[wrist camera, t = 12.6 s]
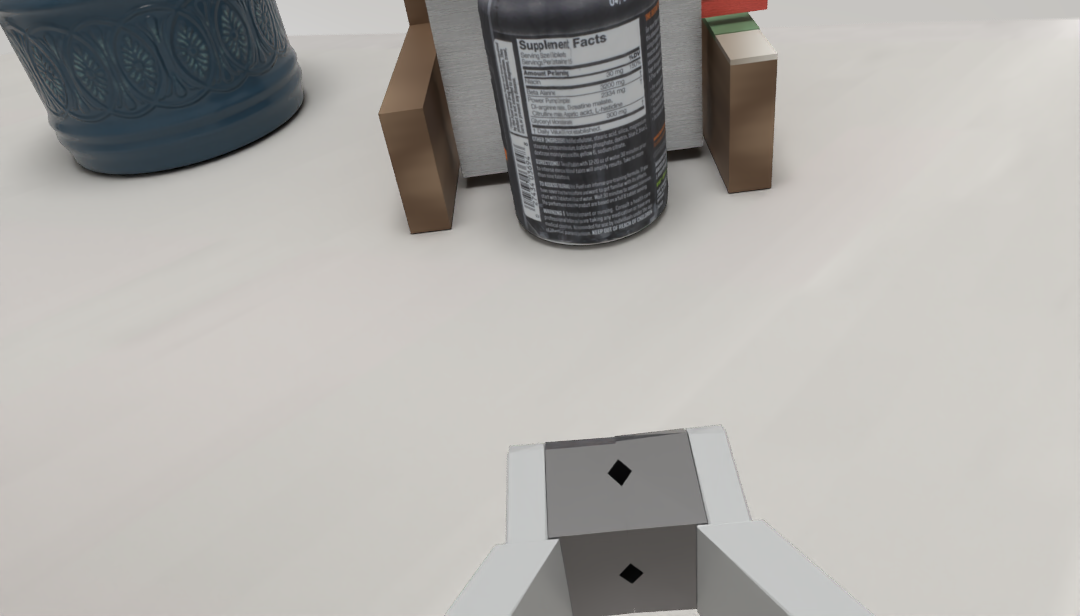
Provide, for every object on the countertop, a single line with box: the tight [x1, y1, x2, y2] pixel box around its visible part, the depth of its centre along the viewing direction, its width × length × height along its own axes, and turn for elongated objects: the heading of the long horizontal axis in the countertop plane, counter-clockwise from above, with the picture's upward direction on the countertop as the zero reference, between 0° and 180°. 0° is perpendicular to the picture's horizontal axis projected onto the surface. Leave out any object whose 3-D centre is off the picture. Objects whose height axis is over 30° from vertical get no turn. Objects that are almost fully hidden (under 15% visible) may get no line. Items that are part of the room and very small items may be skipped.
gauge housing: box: [378, 0, 778, 234], centre depth 33 cm, size 14×14×10 cm
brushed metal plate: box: [425, 0, 767, 178], centre depth 31 cm, size 12×1×8 cm, turn 91°
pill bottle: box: [477, 0, 668, 245], centre depth 27 cm, size 6×6×11 cm
